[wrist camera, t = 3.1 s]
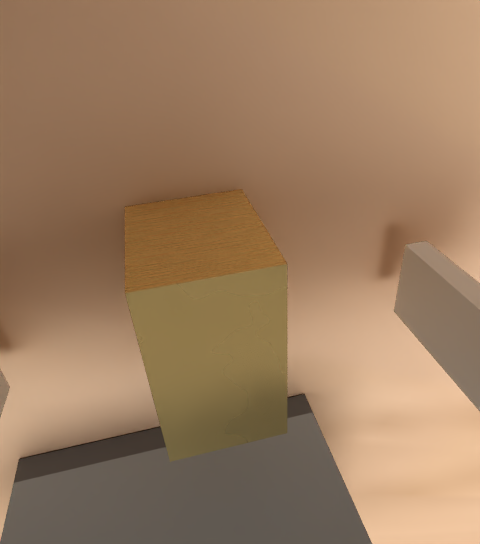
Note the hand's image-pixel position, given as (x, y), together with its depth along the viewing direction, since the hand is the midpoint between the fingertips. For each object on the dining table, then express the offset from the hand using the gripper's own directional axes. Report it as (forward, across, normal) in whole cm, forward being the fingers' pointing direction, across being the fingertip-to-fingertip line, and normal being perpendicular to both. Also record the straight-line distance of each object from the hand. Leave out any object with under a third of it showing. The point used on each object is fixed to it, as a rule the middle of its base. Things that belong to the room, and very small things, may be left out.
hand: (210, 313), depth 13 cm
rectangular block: (+2, 0, 0) cm, 2 cm away
